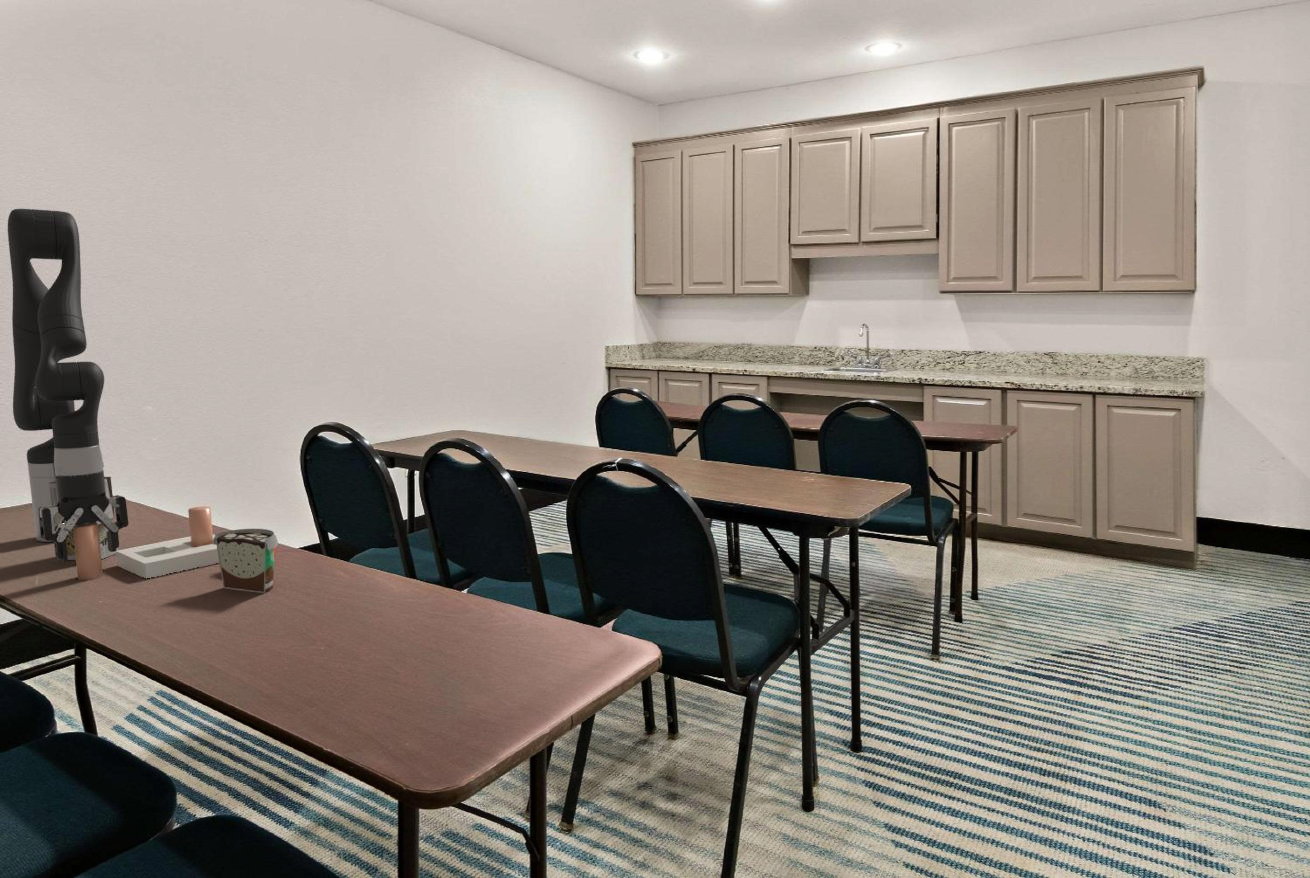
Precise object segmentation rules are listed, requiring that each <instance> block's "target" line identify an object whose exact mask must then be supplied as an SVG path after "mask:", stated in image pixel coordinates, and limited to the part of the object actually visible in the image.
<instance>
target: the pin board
mask: <svg viewBox="0 0 1310 878" xmlns="http://www.w3.org/2000/svg"><path fill="white" fill-rule="evenodd" d="M211 508H212V507H211V506H195V507H191V508H188V510H187V512H188V522H189V523H188V524H189V536H185V537H181V538H175V539H170V540H169V539H168V540H165V541H164V540H163V541H159V542H154V543H150V544H145V545H140V546H139V545H138V546H134V547H129V548H124V549H123V548H122V549H118V551H116V554H115V559H116V560H115V561H116V567H119V568H122V569H123V570H126V571H128V572H129V573H132V574H134V573H135V574H134V575H137V576H139V577H141V578H143V577H144V578H143V579H145V578H146V580H148V579H147V578H150V579H152V578H151V577H154V578H157V576H159V577H161V576H162V575H163V576H167V575H166V574H168V575H170V574H169V573H172V574H174V573H173V572H177V573H180V571H181V572H184V571H183V570H185V571H188V570H189V569H190V570H194V569H197V567H199V568H203V567H208V566H211V565H215V564H216V563H217V564H219V558H218V552H217V545H214V537H215V533H213V524H212V523H213V522H212V511H211V510H212V509H211ZM193 568H194V569H193ZM190 570H189V571H190Z"/></svg>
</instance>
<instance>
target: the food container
mask: <svg viewBox="0 0 1310 878" xmlns="http://www.w3.org/2000/svg"><path fill="white" fill-rule="evenodd" d="M214 535H215V537H214V545H217V552H218V558H219V563H218V565H219V569H220V575H221V580H222V581H221V582H222V587H223V589H228V590H235V591H242V592H250V593H251V592H252V593H258V594H266V593H269V592H271V591H272V590H273V589H274V572H275V571H274V569H275V567H274V566H275V557H274V548H275V547H278V545H279V542H278V538H277V535H276V534H275V531H273V530H271V529H267V528H266V529H265V528H242V529H241V528H240V529H232V530H226V531H221V532H218V533H214Z"/></svg>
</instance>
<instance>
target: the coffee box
mask: <svg viewBox="0 0 1310 878" xmlns="http://www.w3.org/2000/svg"><path fill="white" fill-rule="evenodd" d="M104 480H105V490H106V496H107V498H112V497H114V496H113V486H112V477H111V476H104ZM49 491H50V499H51V507H54V506H57V504H58V493H57V484H56V481H54V482H50V483H49ZM104 513H105V514H106V515H107V516H108V517H109V518H110V519H111V520H112V522H113V523H115V522H116V513H115V508H113V507H112V506H111V504H109V506H108V507H107V509H106V510H105V512H104ZM62 518H63V516H61V515H60V514H59V513H58V512H56V513H55V516H54V518H53V523H54V531H56V529H57V528H58V524H59V523H60V521H61V520H62ZM96 523H98V530H99V541H100V551H101V560H102V559H106V558H108V557H111V556H114V555H116V551H118V550H119V547H118V548H116V551H115V552H111V551H109V550H108V543H107V533H106V532H108V529H107V528H106V527H105V526H103V525H102V524H101V523H100V522H99V521H97V522H96ZM64 541H65V542H66V546H67V556H68V561H76V555H75V546H74V536H73V528H72V530H71V531H70V532H69V533H68V534H67V536H66V538H65V539H64ZM57 560H58V561H61V560H60V559H58V558H57Z"/></svg>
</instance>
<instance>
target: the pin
mask: <svg viewBox="0 0 1310 878" xmlns="http://www.w3.org/2000/svg"><path fill="white" fill-rule="evenodd" d="M73 536H74V546H75V555H76V560H75V561H76V562H75V563H76V574H77V580H79V581H91V580H95V579H98V578H102V577H103V576H104V572H103V562H102V559H101V551H100V541H99V530H98V523H86V524H83V525H79V526H77V525H74V527H73Z"/></svg>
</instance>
